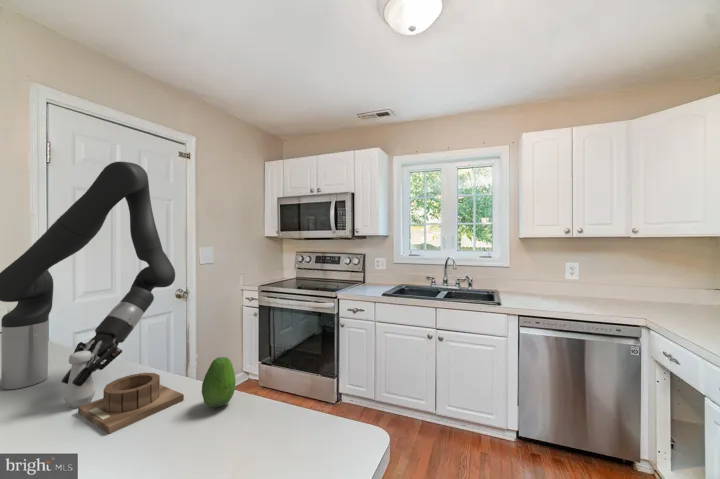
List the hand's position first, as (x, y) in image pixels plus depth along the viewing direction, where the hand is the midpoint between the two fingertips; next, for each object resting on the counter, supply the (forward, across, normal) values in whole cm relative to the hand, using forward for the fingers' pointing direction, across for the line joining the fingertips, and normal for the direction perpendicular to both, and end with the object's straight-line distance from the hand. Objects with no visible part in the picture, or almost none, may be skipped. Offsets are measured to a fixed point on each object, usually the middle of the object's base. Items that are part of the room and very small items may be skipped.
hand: (71, 383), depth 76 cm
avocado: (-3, +34, +12) cm, 36 cm away
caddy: (+1, +14, +7) cm, 16 cm away
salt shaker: (+3, 0, +6) cm, 6 cm away
